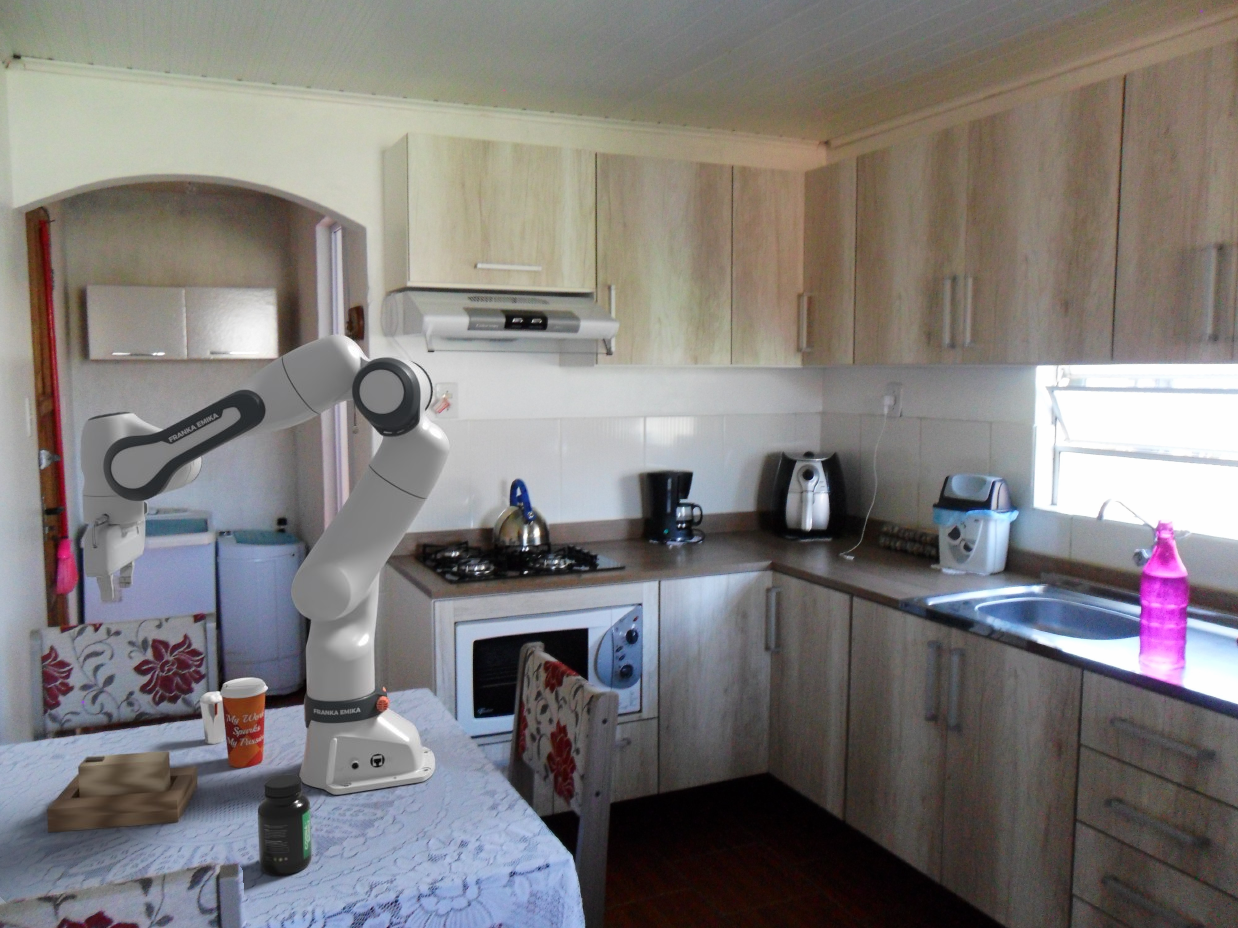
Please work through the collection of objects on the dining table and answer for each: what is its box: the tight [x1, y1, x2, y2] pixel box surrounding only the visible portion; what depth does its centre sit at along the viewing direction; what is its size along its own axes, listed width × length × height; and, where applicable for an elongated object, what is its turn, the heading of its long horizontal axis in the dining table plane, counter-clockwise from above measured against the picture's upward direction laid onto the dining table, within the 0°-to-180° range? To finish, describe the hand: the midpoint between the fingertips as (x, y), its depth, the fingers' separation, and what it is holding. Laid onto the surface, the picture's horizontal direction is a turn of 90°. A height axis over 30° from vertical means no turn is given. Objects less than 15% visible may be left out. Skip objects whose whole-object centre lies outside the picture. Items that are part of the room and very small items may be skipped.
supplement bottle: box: [257, 773, 313, 877], centre depth 135 cm, size 7×7×12 cm
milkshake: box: [199, 691, 226, 745], centre depth 181 cm, size 4×5×10 cm
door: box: [77, 750, 171, 798], centre depth 153 cm, size 12×4×6 cm, turn 102°
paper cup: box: [219, 677, 269, 769], centre depth 171 cm, size 8×8×14 cm
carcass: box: [46, 765, 199, 833], centre depth 153 cm, size 18×13×4 cm
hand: (117, 593), depth 163 cm, fingers open, 8 cm apart
